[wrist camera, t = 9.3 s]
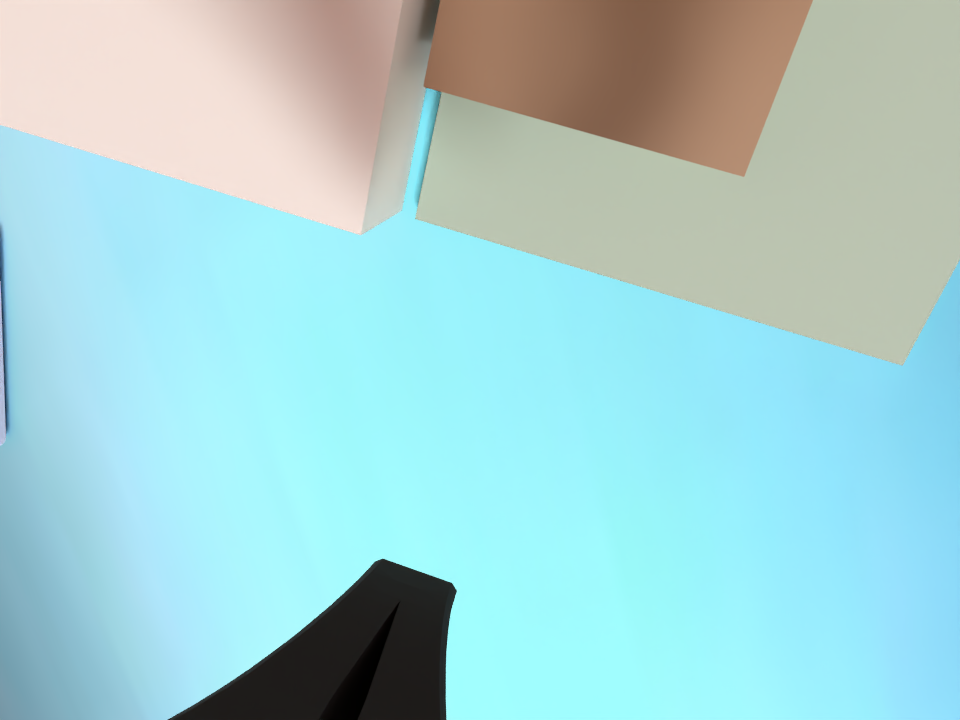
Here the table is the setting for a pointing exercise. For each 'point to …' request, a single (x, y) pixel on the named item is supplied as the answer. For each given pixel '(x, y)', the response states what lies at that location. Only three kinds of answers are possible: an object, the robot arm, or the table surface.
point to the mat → (751, 187)
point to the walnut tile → (625, 67)
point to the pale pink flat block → (231, 93)
